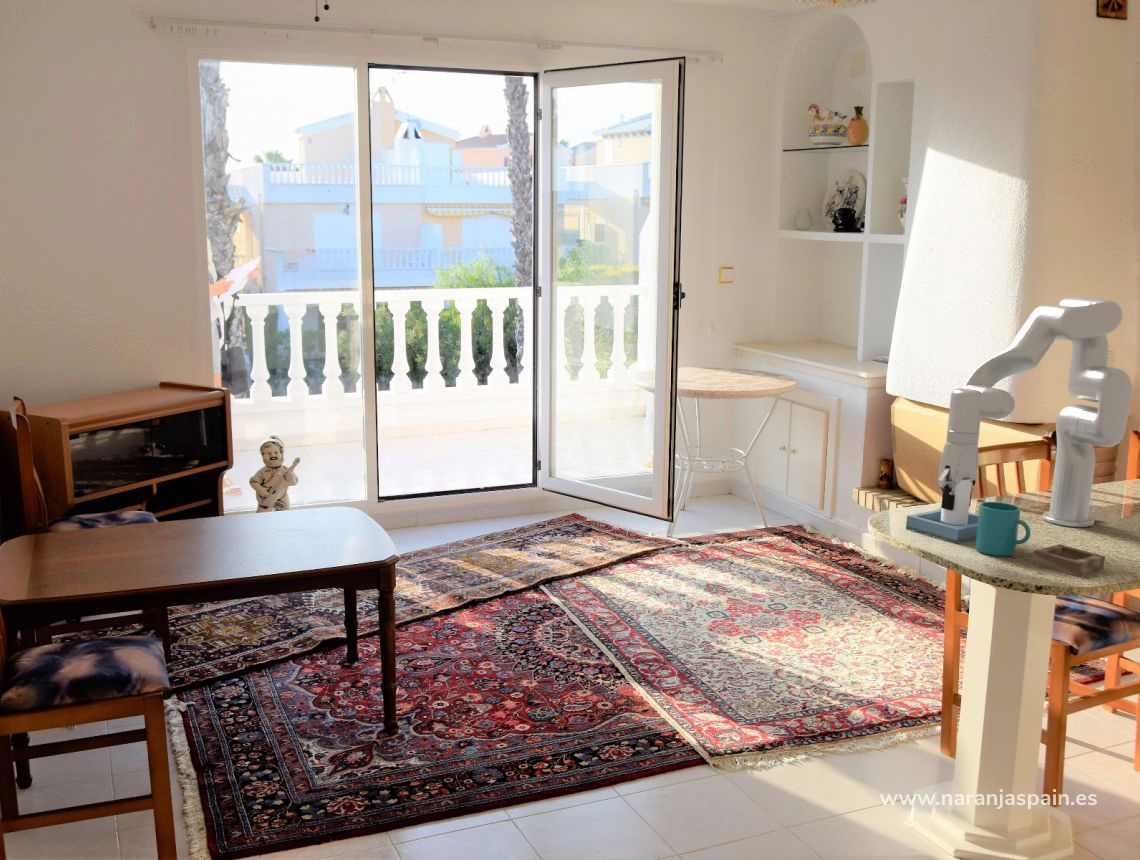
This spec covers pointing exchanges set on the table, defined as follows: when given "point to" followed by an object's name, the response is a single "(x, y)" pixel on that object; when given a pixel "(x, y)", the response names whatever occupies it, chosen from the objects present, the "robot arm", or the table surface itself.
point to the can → (958, 505)
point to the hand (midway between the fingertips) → (955, 506)
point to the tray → (943, 526)
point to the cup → (999, 529)
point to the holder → (1068, 560)
